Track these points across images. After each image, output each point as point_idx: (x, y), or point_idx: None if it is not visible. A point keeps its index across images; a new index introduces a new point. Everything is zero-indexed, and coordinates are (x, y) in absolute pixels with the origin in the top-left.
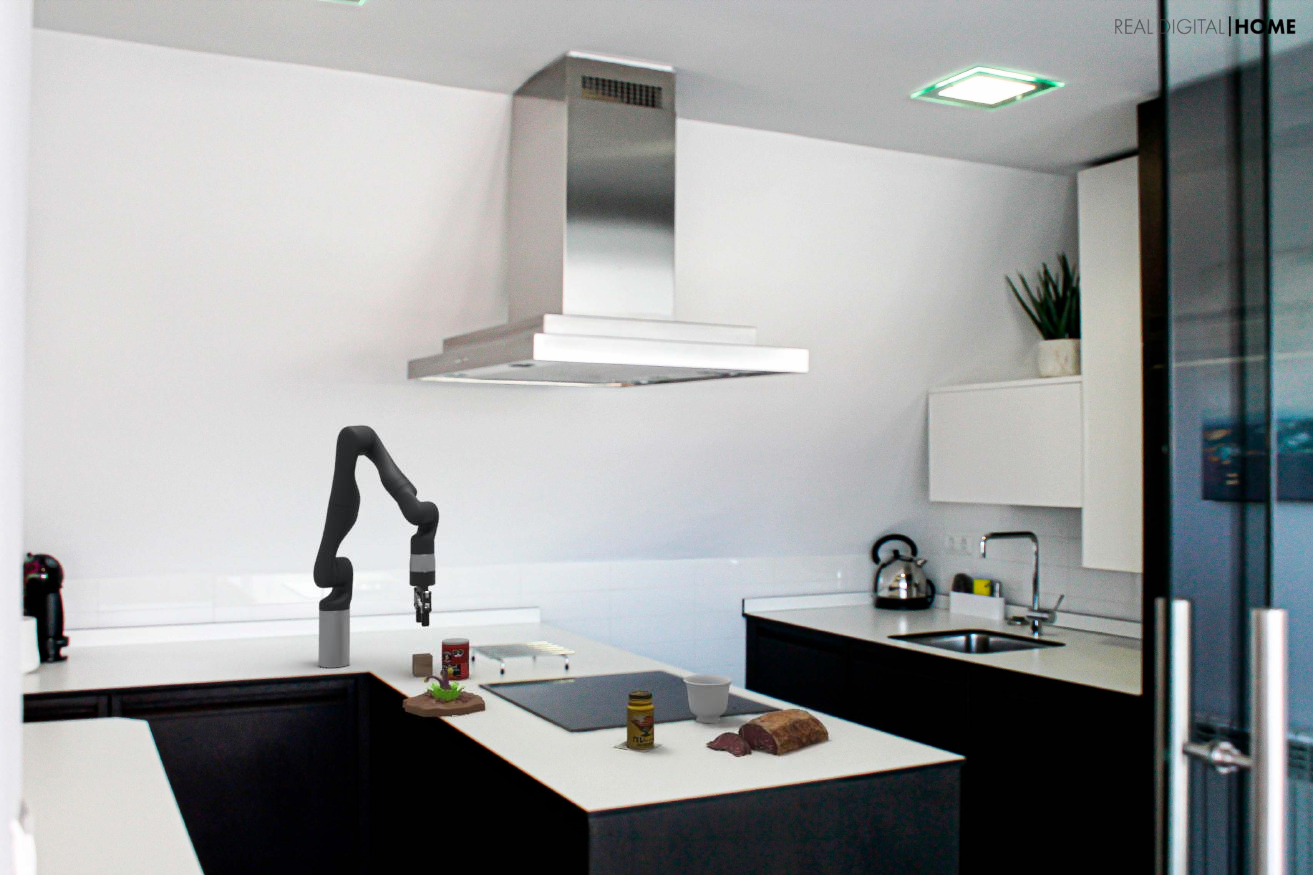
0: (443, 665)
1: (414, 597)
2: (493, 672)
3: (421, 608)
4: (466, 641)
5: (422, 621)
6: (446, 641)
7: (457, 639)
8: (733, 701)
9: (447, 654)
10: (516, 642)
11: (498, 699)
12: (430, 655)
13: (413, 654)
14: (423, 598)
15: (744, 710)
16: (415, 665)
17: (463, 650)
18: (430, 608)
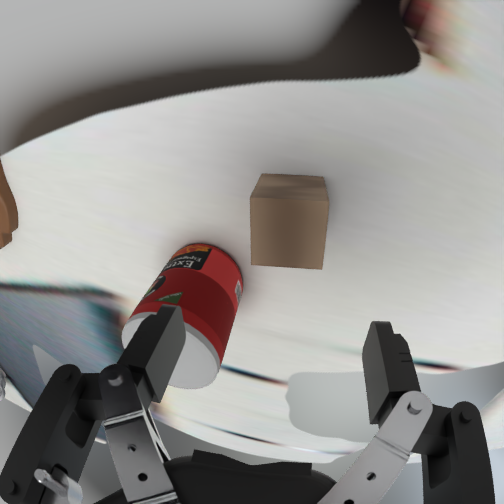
0: (175, 264)
1: (472, 477)
2: (246, 361)
3: (107, 397)
4: None
5: (151, 325)
6: None
7: (204, 371)
8: None
9: (145, 294)
10: (487, 421)
11: (17, 276)
12: (263, 259)
13: (320, 204)
14: (15, 447)
15: (29, 400)
16: (257, 185)
17: None
18: (72, 412)
